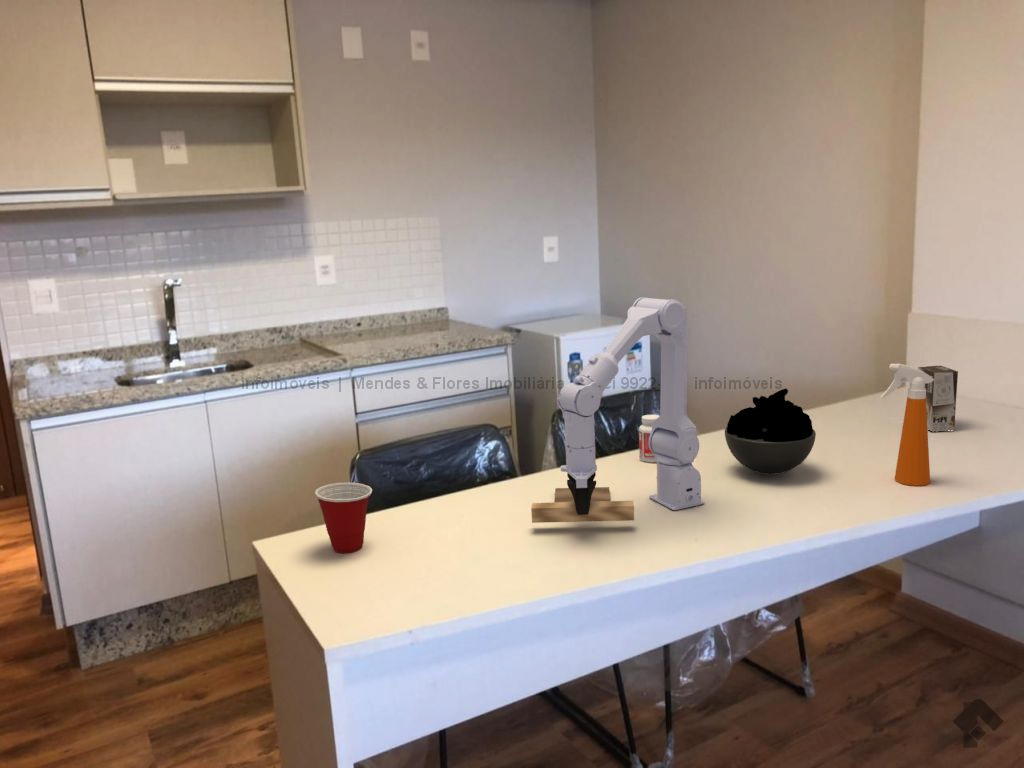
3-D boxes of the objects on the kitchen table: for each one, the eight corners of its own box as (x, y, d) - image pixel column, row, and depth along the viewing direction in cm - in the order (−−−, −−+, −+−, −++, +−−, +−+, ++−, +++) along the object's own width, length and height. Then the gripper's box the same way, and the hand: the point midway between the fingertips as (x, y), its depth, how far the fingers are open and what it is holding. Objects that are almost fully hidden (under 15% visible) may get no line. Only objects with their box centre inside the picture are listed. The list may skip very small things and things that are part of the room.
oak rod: (633, 514, 163) (632, 500, 163) (634, 520, 160) (633, 506, 160) (532, 517, 165) (532, 502, 164) (532, 522, 162) (531, 508, 161)
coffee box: (955, 431, 215) (959, 371, 212) (930, 432, 215) (934, 372, 212) (938, 422, 224) (941, 364, 221) (914, 423, 224) (917, 365, 221)
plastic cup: (380, 553, 157) (375, 493, 154) (322, 562, 154) (316, 501, 151) (373, 533, 167) (368, 476, 164) (319, 541, 164) (313, 484, 161)
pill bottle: (669, 459, 204) (669, 416, 202) (651, 464, 201) (650, 421, 199) (652, 454, 209) (651, 412, 207) (634, 459, 206) (633, 416, 204)
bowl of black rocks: (758, 491, 179) (759, 407, 175) (708, 466, 197) (707, 390, 193) (833, 478, 185) (836, 396, 181) (778, 455, 203) (779, 380, 200)
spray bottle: (873, 475, 185) (878, 360, 180) (925, 476, 183) (931, 360, 178) (880, 485, 178) (885, 366, 173) (934, 486, 176) (941, 366, 171)
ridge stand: (612, 517, 168) (611, 494, 167) (553, 518, 169) (552, 495, 168) (609, 491, 184) (608, 469, 183) (555, 492, 185) (554, 471, 184)
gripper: (560, 435, 167) (563, 498, 170) (558, 456, 153) (561, 525, 155) (595, 433, 166) (597, 497, 169) (597, 455, 152) (599, 524, 155)
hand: (582, 510), depth 162 cm, fingers closed on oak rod, 3 cm apart
